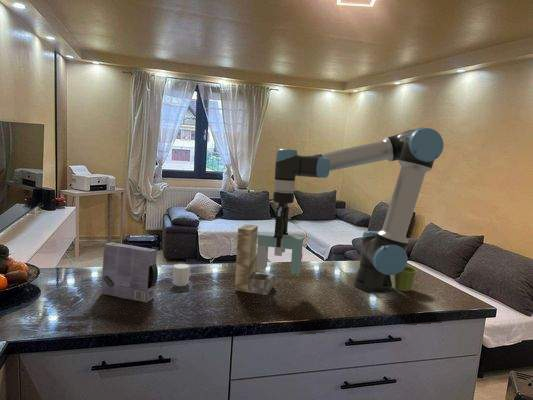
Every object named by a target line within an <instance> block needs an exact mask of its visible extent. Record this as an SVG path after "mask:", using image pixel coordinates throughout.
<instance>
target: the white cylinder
mask: <svg viewBox="0 0 533 400" xmlns="http://www.w3.org/2000/svg"><path fill="white" fill-rule="evenodd" d="M171 269H172V284H173V285H174V286H176V287H184V286H187V284H188V285H189V282H190V274H191V265H190V264H188V263H175V264H173V265H172V266H171Z"/></svg>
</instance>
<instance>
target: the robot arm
mask: <svg viewBox="0 0 533 400" xmlns="http://www.w3.org/2000/svg"><path fill="white" fill-rule="evenodd" d="M444 145H445V144H444V139H443V137H442V135H441V134H440V132H438V130H435V129H433V128H429V127H418V128H415V129H409V130H406V131H403V132H399V133H398V134H394V135H391V136H386V137H384V139H383V140H381V141H375V142H371V143H366V144H361V145H356V146H352V147H345V148H342V149H337V150H332V151H328V152H321V153H317V154H313V155H299V154H298V151H297V149H289V148H288V149H287V148H278V149H277V151H276V156H275V165H274V166H275V167H274V168H275V169H274V181H273V182H272V185H273V186H274V187H273V190H274V192H273V196H272V197H273V201H272V202H274V203H278V204H277V207H276V210H275V221H274V234H275V235H274V236H273V238H275V247H274V251H273V252H274V253H273V254H274V256H278V257H283V253H286V249H284V248H283V235H289V232H288V229H289V228H288V226H289V214H290V213H289V212H290V206H288V205H289V204H293V203H294V199H295V193H294V192H295V191H296V177H304V178H305V177H306V178H317V179H321V178H323V179H324V178H325V179H326V178H328V177H329V175H330V172H332V171H337V170H341V169H342V170H343V169H347V168H353V167H357V166H362V165H367V164H372V163H377V162H382V161H388V162H394V161H398V163H399V165H400V169H399V172H398V173H399V174H398V177H397V180H396V183H395V186H394V188H393V192H392V196H391V199H390V203H389V205H388V209H387V212H386V216H385V218H384V221H383V225H382V229H381V230H377V231H376V230H365V231H364V232H363V233H362V237H361V248H360V249H361V250H360V261H359V262H360V263H359V267H358V269H357V272H356V274H355V275H354V280H353V285H354V287H356V288H357V289H359V290H362V291H365V292H368V293H369V292H370V293H378V294H382V293H383V294H384V293H389V292H391V291H392V290H393V283H392V282H393V281H392V277H391V276H395V274H397V273H400V272H401V271H402V270H403V269H404V268H405V267H406V266H407V264H408V261H409V260H408V259H409V258H408V254H407V252H406V251H407V248H408V245H409V240H408V237H407V233H408V230H409V226H410V223H411V220H412V218H413V214H414V211H415V208H416V204H417V202H418V201H417V200H418V198H419V195H420V191H421V188H422V185H423V182H424V179H425V175H426V174H427V173H428V172H429V171H431V170H433V166H434V162H435V161H436V160H437V159H439V157H440V156H441V155H442V154H443V151H444Z"/></svg>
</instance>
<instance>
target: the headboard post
mask: <svg viewBox="0 0 533 400" xmlns="http://www.w3.org/2000/svg"><path fill="white" fill-rule="evenodd" d="M258 229H259V226H258V225H253V224H244V225H242V226H241V227H239V228H237V238H236V241H237V243H236V256H235V257H236V258H235V275H234V279H235V280H234V291H237V292H238V291H239V292H242V293H243V292H244V293H251V294H257V295H258V294H259V295H262V296H264V295H265V296H268V295H269V293H270V292H271V290H272V288H273V286H274V274H273V273H266V272H265V273H264V272H260V271H259V272H257V271H256V272H255V263H256V253H257V247H258Z"/></svg>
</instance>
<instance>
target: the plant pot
mask: <svg viewBox="0 0 533 400" xmlns="http://www.w3.org/2000/svg"><path fill="white" fill-rule="evenodd" d="M416 273H418V270H417V269H416V268H414V267H411V266H407V265H406V267H405V268H404V269H403V270H402V271H401V272H400V273H397V274H395V275H394V289H396V290H398V291H400V292H410V291H411V290H412V287H413V283H414V282H413V281H414V279H415V276H416Z"/></svg>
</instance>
